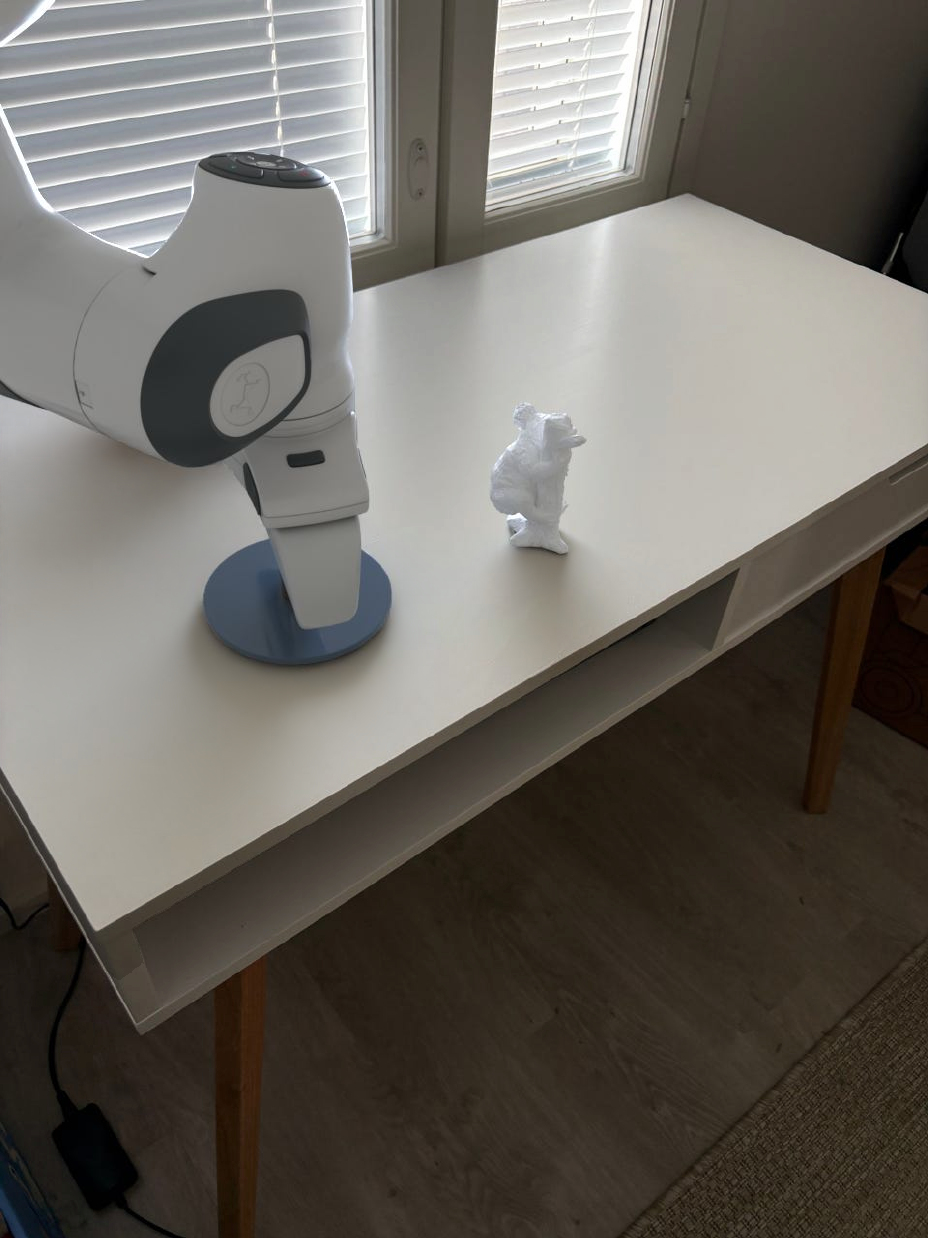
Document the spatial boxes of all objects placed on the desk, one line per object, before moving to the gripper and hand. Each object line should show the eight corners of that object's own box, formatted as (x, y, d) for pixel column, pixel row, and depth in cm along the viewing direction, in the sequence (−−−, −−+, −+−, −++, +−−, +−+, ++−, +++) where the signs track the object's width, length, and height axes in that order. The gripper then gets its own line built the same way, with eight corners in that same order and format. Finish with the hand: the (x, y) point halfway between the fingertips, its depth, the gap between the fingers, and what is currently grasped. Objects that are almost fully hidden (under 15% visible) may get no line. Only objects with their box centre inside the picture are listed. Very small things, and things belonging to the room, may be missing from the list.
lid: (222, 689, 68) (214, 639, 65) (191, 563, 77) (182, 514, 74) (415, 648, 72) (416, 599, 69) (363, 533, 81) (362, 485, 78)
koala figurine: (594, 556, 80) (618, 427, 72) (518, 575, 78) (533, 443, 70) (547, 496, 86) (564, 370, 78) (474, 512, 84) (484, 383, 76)
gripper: (207, 350, 70) (228, 510, 79) (268, 526, 56) (284, 694, 66) (297, 339, 72) (307, 497, 81) (378, 507, 58) (378, 674, 67)
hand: (297, 587), depth 73 cm, fingers closed on lid, 2 cm apart
